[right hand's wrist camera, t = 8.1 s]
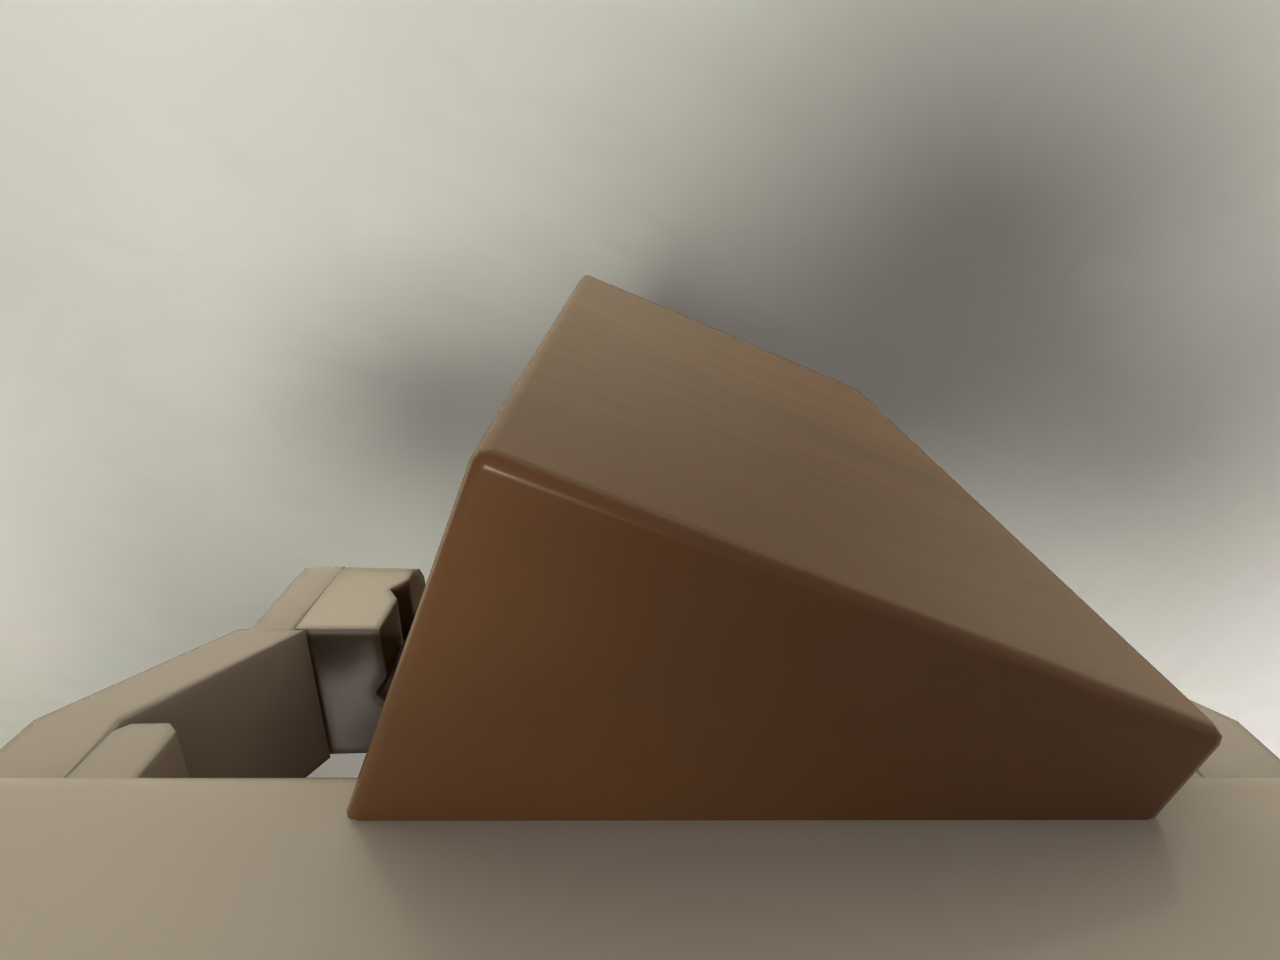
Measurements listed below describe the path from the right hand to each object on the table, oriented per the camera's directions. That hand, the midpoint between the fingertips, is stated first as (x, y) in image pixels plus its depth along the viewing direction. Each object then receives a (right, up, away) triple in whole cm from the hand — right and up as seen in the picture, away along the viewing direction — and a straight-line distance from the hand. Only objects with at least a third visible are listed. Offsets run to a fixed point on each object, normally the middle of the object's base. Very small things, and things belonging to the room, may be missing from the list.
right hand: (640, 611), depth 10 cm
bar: (-3, -6, +5) cm, 8 cm away
